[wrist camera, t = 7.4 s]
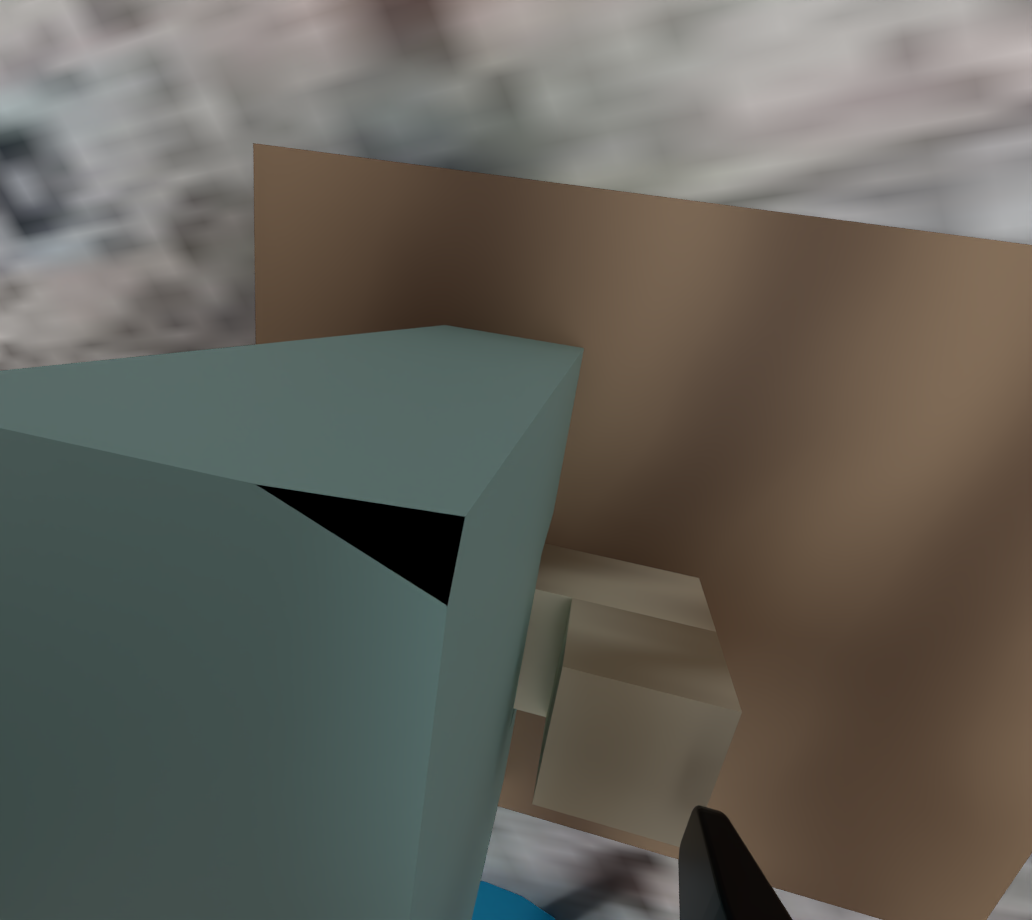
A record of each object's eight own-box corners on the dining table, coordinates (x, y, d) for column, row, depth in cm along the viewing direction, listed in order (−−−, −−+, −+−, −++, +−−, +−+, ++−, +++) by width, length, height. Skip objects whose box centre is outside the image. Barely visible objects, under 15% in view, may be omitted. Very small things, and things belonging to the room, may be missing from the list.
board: (1341, 296, 9) (1411, 295, 8) (949, 909, 14) (968, 944, 13) (277, 154, 11) (253, 143, 10) (276, 715, 16) (260, 735, 15)
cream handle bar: (698, 578, 11) (742, 711, 8) (666, 684, 12) (690, 850, 9) (293, 487, 13) (157, 563, 9) (292, 589, 14) (169, 697, 10)
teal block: (584, 348, 10) (457, 526, 2) (503, 779, 14) (340, 1487, 6) (445, 325, 11) (-177, 387, 2) (403, 750, 14) (107, 1373, 6)
